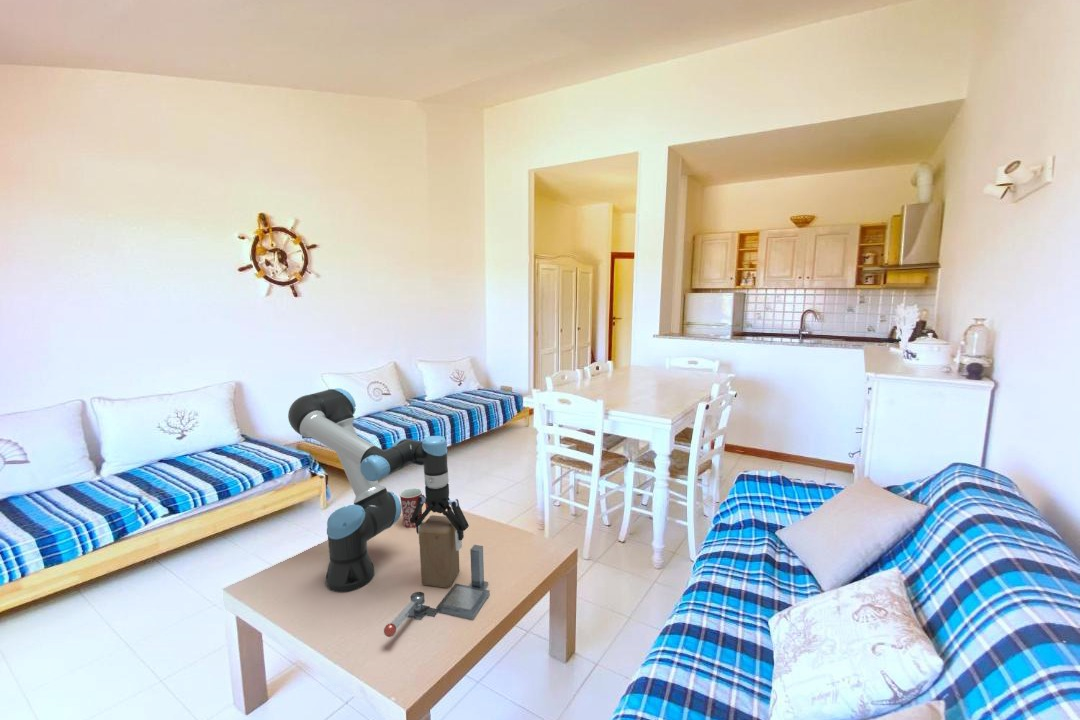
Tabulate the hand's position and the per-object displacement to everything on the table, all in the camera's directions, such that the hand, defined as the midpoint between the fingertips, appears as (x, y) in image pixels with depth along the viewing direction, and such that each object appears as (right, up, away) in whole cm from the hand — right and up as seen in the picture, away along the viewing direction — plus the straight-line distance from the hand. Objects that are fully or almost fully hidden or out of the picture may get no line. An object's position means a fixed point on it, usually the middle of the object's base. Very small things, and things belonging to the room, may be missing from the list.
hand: (440, 545), depth 157 cm
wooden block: (0, -12, +2) cm, 12 cm away
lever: (-6, -12, -21) cm, 25 cm away
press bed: (+6, -13, -9) cm, 17 cm away
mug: (-18, -6, +38) cm, 42 cm away
